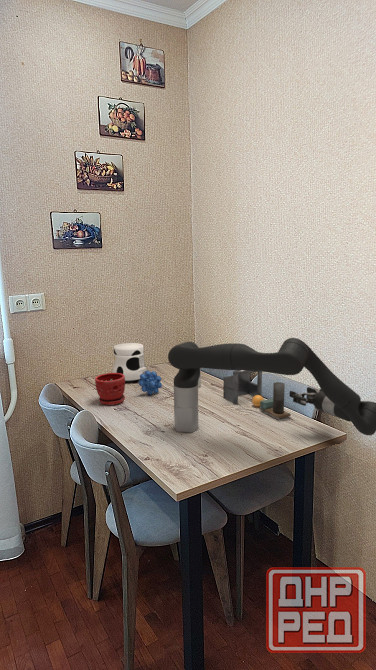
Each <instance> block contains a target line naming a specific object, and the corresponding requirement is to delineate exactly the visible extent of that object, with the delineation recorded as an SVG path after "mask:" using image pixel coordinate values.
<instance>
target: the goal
mask: <svg viewBox="0 0 376 670" xmlns="http://www.w3.org/2000/svg"><path fill="white" fill-rule="evenodd" d="M253 373H257V377H256V378H257V381H256V383H254V382H253V381H251V374H253ZM262 387H263V372H260V371H245V370H232V375H228V376H223V388H222V390H223V391H222V392H223V399H224V400H226V401H228V402H230V403H232V404H233V405H238V404H239V397H240V396H245V395H249V396H250V397H252V398H253V397H254V396H256V395H260V396H262V397H263V395H262V393H263V392H262V391H263V390H262Z"/></svg>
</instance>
